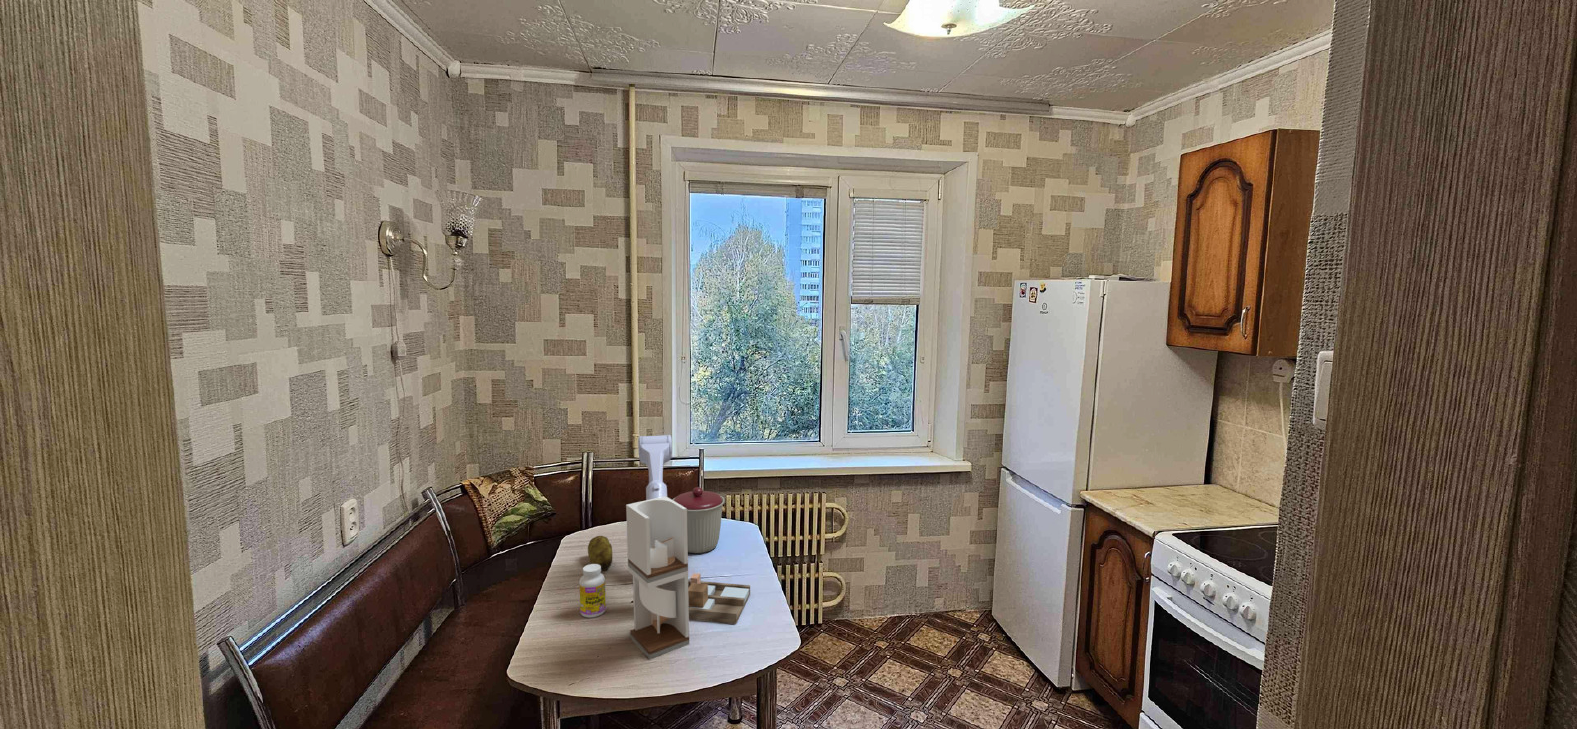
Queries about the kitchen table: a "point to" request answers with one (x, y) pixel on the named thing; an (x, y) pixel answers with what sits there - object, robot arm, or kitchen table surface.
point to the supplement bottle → (592, 591)
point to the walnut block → (698, 595)
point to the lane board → (720, 605)
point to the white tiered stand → (658, 574)
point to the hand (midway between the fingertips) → (659, 596)
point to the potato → (600, 552)
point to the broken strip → (726, 592)
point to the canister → (702, 518)
